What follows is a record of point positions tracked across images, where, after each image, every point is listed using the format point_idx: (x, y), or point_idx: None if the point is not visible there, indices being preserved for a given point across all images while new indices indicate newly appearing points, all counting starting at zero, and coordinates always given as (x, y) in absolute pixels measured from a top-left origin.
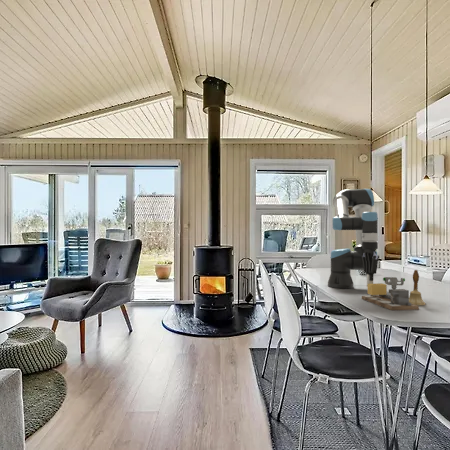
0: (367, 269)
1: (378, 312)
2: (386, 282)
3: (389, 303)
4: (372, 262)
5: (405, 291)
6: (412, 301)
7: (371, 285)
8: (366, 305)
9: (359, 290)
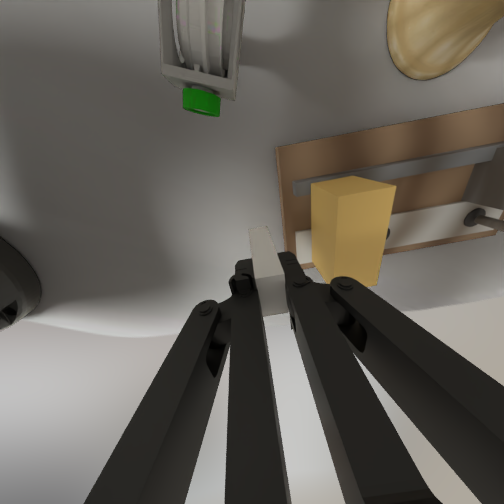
0: (268, 353)
1: (475, 276)
2: (235, 95)
3: (463, 224)
4: (486, 483)
5: None
6: (472, 44)
7: (372, 283)
8: (389, 280)
9: (55, 207)
